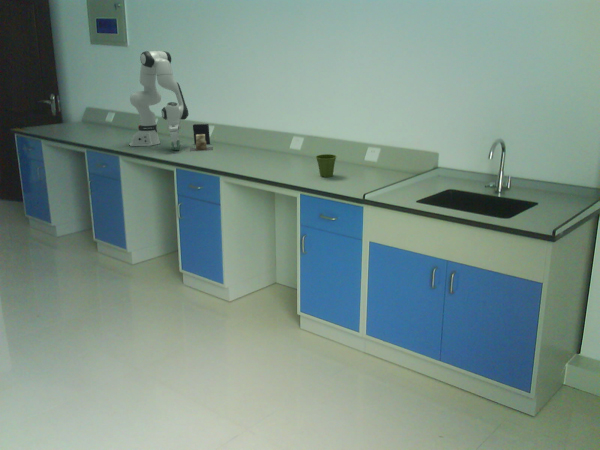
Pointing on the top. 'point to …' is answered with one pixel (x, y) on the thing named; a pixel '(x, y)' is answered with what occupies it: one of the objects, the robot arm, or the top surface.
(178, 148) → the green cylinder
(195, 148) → the mat
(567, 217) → the top surface
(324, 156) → the plant pot
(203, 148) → the bottom block
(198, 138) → the top block
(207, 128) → the black upright flat panel
